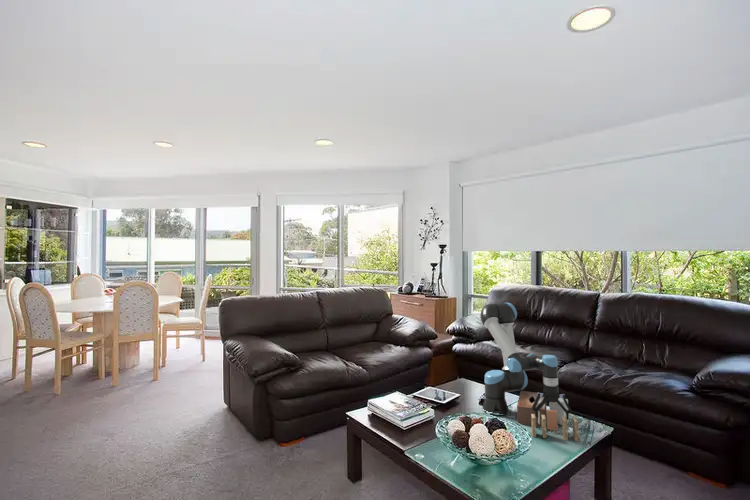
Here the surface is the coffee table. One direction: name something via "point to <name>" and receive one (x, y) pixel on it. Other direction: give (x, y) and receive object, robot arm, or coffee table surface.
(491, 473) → the coffee table surface
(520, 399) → the tissue box cover
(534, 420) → the domino
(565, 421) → the domino
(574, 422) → the domino
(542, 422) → the domino
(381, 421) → the coffee table surface
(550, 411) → the terracotta domino
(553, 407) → the small box
